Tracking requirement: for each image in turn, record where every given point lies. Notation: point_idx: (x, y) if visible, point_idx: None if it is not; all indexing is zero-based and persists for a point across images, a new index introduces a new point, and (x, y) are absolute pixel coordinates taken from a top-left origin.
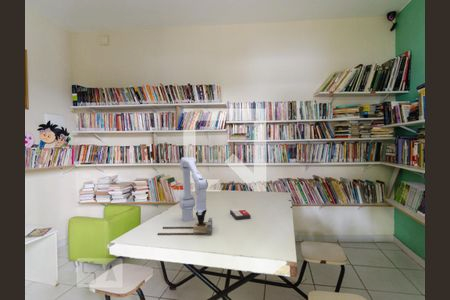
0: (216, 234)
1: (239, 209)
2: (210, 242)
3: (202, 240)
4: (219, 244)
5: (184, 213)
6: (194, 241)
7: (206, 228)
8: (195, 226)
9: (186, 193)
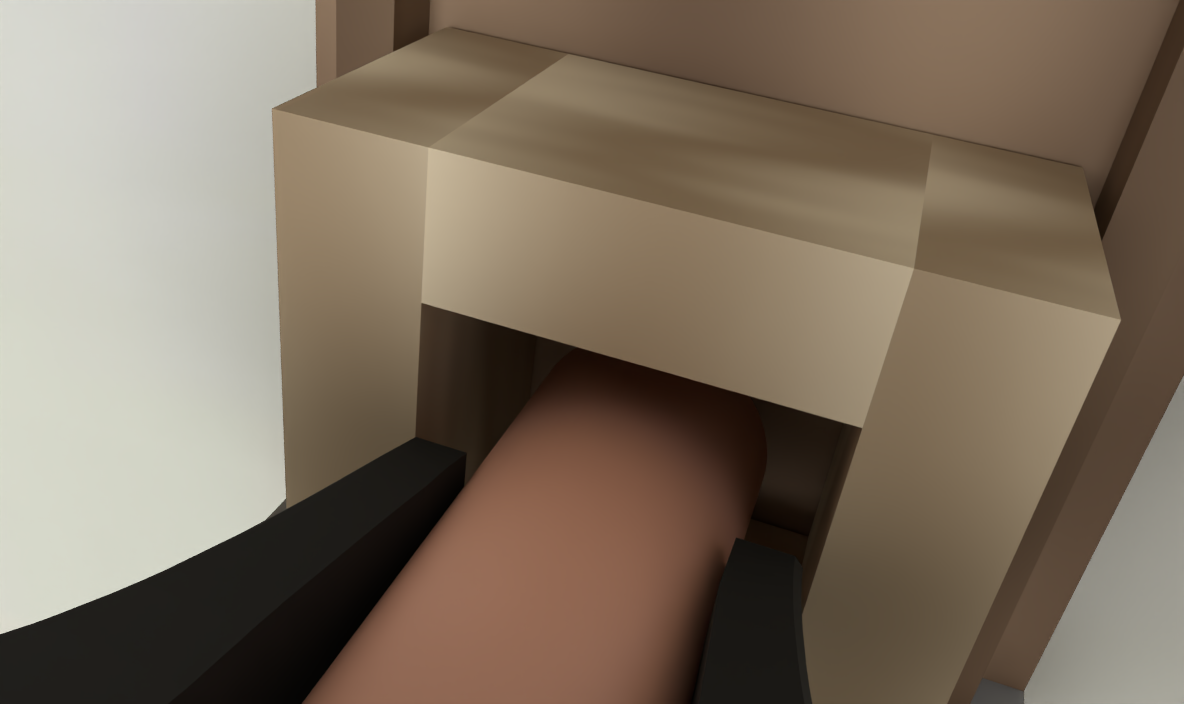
0: None
1: None
2: (117, 433)
3: (204, 271)
4: (55, 569)
5: None
6: (122, 25)
7: None
8: (360, 225)
9: None
